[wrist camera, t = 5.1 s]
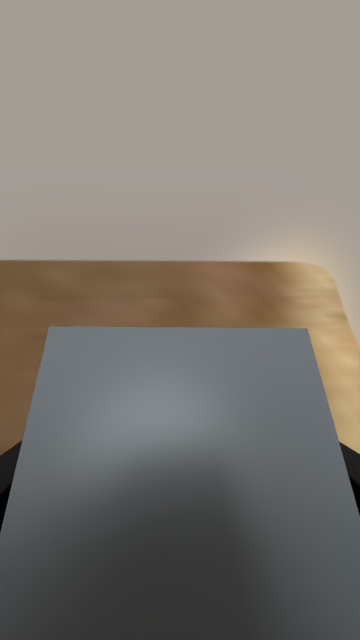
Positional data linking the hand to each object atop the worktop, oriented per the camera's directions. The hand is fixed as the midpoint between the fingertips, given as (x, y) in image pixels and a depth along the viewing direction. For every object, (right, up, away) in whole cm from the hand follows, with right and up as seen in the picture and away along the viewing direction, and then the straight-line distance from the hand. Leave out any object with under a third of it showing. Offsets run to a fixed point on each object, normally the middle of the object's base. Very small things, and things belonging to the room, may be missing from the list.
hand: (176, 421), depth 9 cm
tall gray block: (0, -4, +5) cm, 7 cm away
